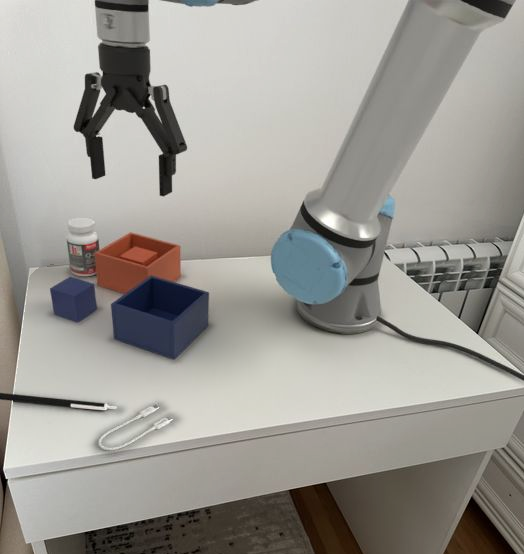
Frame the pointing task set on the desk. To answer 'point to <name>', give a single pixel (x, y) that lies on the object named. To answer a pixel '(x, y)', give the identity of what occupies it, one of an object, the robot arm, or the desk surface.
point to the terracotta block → (140, 256)
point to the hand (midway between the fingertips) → (131, 185)
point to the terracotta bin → (130, 274)
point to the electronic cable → (142, 413)
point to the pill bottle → (82, 246)
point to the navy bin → (160, 316)
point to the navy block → (73, 299)
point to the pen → (56, 401)
